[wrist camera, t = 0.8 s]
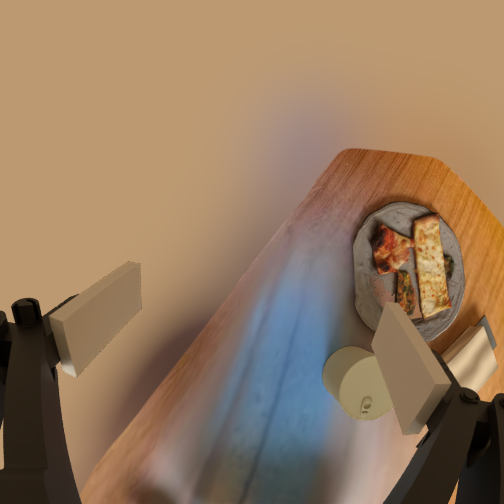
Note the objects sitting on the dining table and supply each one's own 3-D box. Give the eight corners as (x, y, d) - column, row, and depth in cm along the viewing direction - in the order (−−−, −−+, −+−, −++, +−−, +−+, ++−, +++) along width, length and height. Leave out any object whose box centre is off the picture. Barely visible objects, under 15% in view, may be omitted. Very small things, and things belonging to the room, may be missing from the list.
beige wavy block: (485, 365, 40) (498, 367, 36) (438, 412, 39) (451, 418, 35) (469, 326, 42) (483, 326, 38) (420, 373, 41) (433, 377, 37)
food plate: (345, 202, 49) (350, 195, 45) (448, 208, 48) (457, 202, 44) (351, 348, 44) (357, 351, 41) (458, 333, 43) (468, 334, 40)
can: (315, 393, 42) (330, 417, 30) (331, 341, 44) (352, 349, 32) (365, 402, 41) (392, 424, 30) (380, 351, 43) (413, 360, 31)
